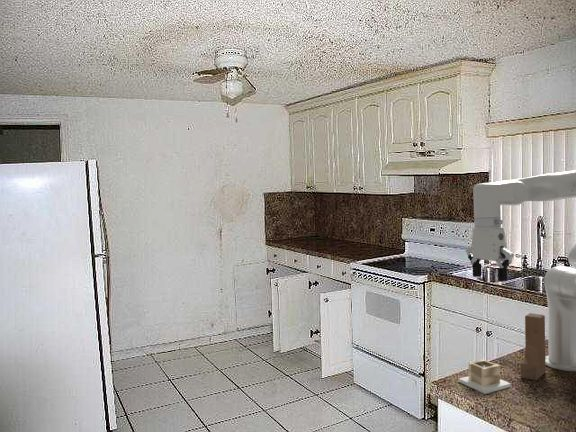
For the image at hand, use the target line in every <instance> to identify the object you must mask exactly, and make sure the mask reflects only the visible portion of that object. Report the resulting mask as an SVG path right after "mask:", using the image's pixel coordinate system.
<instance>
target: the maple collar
mask: <svg viewBox="0 0 576 432" xmlns="http://www.w3.org/2000/svg"><path fill="white" fill-rule="evenodd" d="M480 365H487V366H488V367H482V366H480ZM467 366H468V376H469V380H471V381H473V382H476V383H478V384H480V385H482V386H488V385H492V384H496V383H500V379H501V367H500V364H498V363H494V362H491V361H489V360H486V359H478V360H475V361H470V362H468V365H467Z"/></svg>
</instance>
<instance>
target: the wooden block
mask: <svg viewBox="0 0 576 432" xmlns="http://www.w3.org/2000/svg"><path fill="white" fill-rule="evenodd" d="M524 333H525V337H524V338H525V339H524V340H525V342H524V343H525V346H524V347H525V350H524V351H525V352H524V357H523V360H522V361H521V362H520V378H523V379H527V380H530V381H535V382H536V381H538V379H539V378H541V377H542V376H543V375H544V374H545V373H546V364H545V356H546V316H545V315H544V314H538V313H533V312H532V313H528V314H527V315H526V314H525V316H524Z"/></svg>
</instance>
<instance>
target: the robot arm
mask: <svg viewBox="0 0 576 432" xmlns="http://www.w3.org/2000/svg"><path fill="white" fill-rule="evenodd" d="M472 190H473V191H472V192H473V193H472V194H473V195H472V196H473V216H474V217H473V219H474V227H473V230H472V237H471V246H470V247H468V248H467V249H465V252H466V255H467V258H468V260H469V261H470V265H472V277H473V278H476V277H481V276H482V275H483V273H482V263H481V261H482V260H483V261H488V262H496V264H497V266H498V267H497V281H498V282H505V281H508V268H509V267H510V265H511V264H512V261H513V258H514V255H515V254H514V253H513V252H512V251H511V250H509V249H508V243H507V237H506V232H505V229H504V227H502V225H503V224H504V220H503V219H501V217H502V215H501V206H519V205H522V204H524V203H525V202H549V201H550V202H552V201H553V202H554V201H560V200H566V199H572V198H576V170H568V171H561V172H553V173H545V174H540V175H535V176H530V177H521V178H516V179H508V180H501V181H500V180H499V181H494V182H483V183H476V184H475V185H474V186H473V188H472ZM568 252H569V253H568V255H567V261H568V263H569V264H570V266H572V267H570V266H565V265H557V266H553V267H551V268H549V269H548V270H547V272H546V273H545V275H544V278H543V279H544V280H543V285H544V290H545V293H546V299H547V327H548V329H547V331H548V332H547V335H548V337H547V339H548V341H547V343H548V346H547V347H548V351H547V352H548V355H545V366H547V367H550V368H552V369H555V370H559V371H565V372H576V243H575V244H574V245H573V246H572V248H571V249H570V251H568Z"/></svg>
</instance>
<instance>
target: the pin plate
mask: <svg viewBox="0 0 576 432" xmlns="http://www.w3.org/2000/svg"><path fill="white" fill-rule="evenodd" d="M480 366H482V367H488V366H487V365H480ZM458 383H460V384H463V385H465V386H467V387H468V388H472V389H474V390H476V391H477V392H480V393H483V394H484V395H486V394H490V393H494V392H498V391H500V390H504V389H505V390H506V389H508V388H511V386H512V383H511V382H509V381H507V380H503V379H501V378H500V383H496V384H492V385H488V386H482V385H480V384H478V383H476V382H473V381H471V380H469V375H468V376H464V377H460V378H458Z"/></svg>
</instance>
